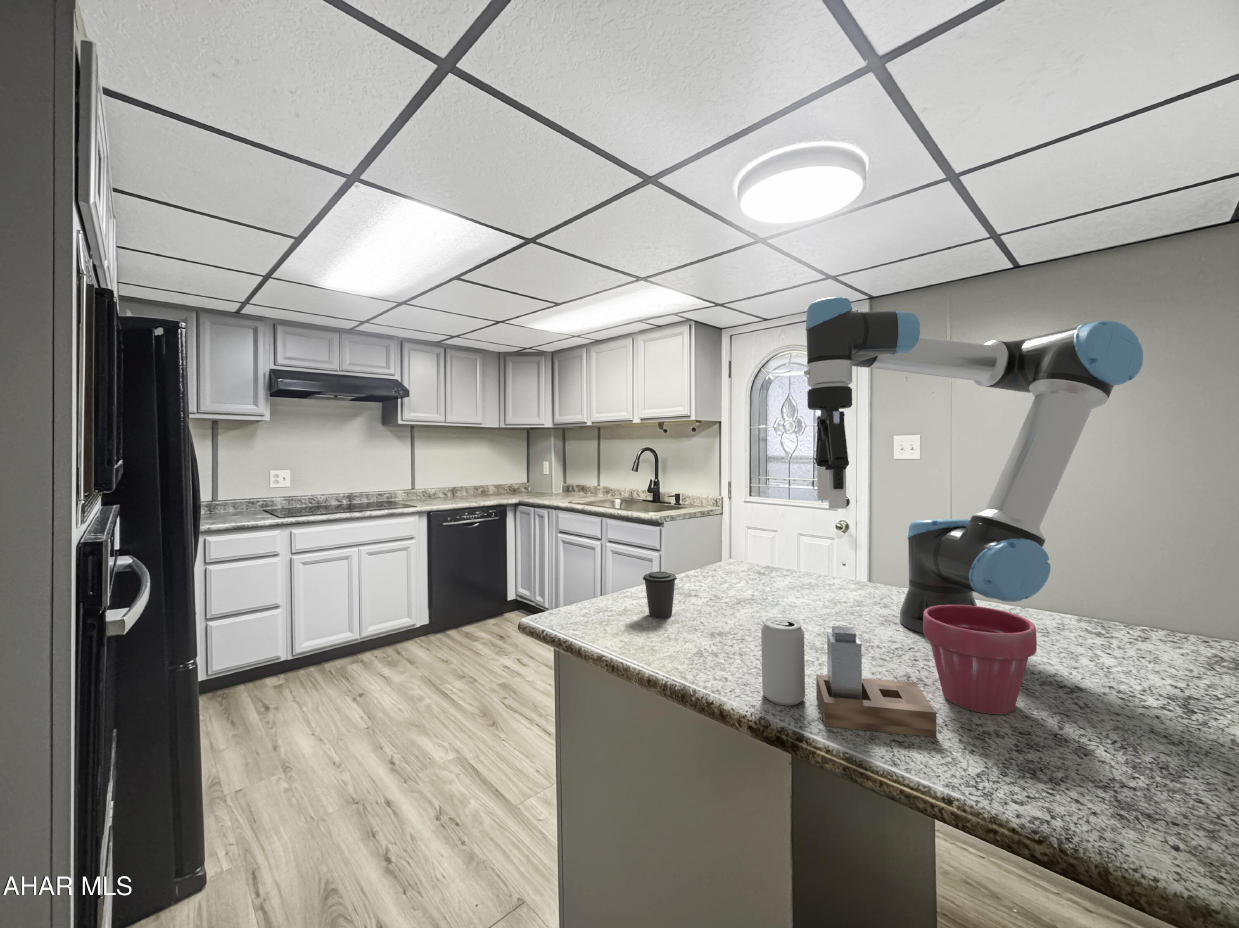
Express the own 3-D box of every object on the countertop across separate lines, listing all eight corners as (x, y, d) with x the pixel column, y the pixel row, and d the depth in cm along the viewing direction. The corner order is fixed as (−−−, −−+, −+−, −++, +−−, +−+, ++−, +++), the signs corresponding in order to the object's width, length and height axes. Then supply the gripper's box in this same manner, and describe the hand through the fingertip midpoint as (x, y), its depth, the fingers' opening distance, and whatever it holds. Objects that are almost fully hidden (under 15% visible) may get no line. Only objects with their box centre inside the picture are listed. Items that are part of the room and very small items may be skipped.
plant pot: (905, 679, 86) (905, 603, 86) (991, 678, 86) (991, 602, 85) (959, 725, 72) (959, 634, 71) (1062, 724, 71) (1063, 633, 71)
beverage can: (799, 712, 76) (798, 631, 76) (756, 701, 80) (755, 624, 79) (809, 694, 82) (808, 619, 81) (768, 685, 85) (767, 613, 85)
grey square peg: (856, 699, 77) (855, 625, 77) (861, 713, 73) (861, 635, 73) (827, 697, 78) (827, 624, 78) (832, 710, 74) (831, 633, 74)
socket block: (915, 704, 78) (915, 682, 78) (936, 737, 69) (936, 712, 69) (816, 695, 81) (816, 674, 81) (824, 726, 72) (824, 702, 72)
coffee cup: (644, 609, 126) (644, 568, 126) (678, 610, 125) (677, 569, 125) (641, 620, 118) (640, 577, 118) (677, 621, 117) (676, 577, 117)
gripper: (800, 394, 106) (801, 497, 107) (816, 379, 82) (818, 512, 83) (839, 392, 104) (840, 497, 105) (868, 377, 80) (869, 512, 81)
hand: (830, 504), depth 94 cm, fingers open, 13 cm apart
